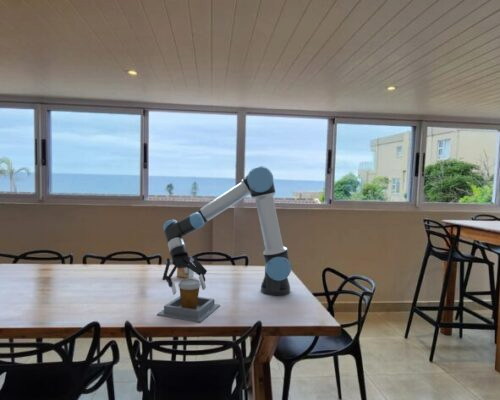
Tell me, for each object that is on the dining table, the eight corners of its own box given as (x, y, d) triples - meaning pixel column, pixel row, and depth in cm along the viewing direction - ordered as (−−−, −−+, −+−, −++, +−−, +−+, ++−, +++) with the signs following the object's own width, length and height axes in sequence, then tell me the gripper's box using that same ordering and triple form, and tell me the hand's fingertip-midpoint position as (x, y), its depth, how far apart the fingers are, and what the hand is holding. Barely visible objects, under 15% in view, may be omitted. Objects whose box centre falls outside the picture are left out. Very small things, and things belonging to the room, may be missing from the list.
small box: (176, 276, 206) (177, 258, 205) (182, 274, 211) (182, 256, 210) (188, 278, 203) (189, 260, 202) (193, 275, 208) (194, 258, 207)
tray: (220, 305, 161) (220, 298, 161) (200, 322, 142) (200, 314, 142) (180, 299, 168) (180, 292, 167) (157, 315, 149) (157, 306, 148)
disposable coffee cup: (204, 307, 157) (204, 280, 156) (191, 314, 149) (192, 286, 148) (186, 303, 161) (186, 277, 160) (173, 310, 153) (173, 282, 152)
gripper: (200, 251, 175) (213, 290, 163) (149, 256, 161) (159, 299, 150) (204, 243, 170) (218, 282, 158) (153, 247, 157) (163, 290, 145)
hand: (190, 290), depth 154 cm, fingers open, 13 cm apart
